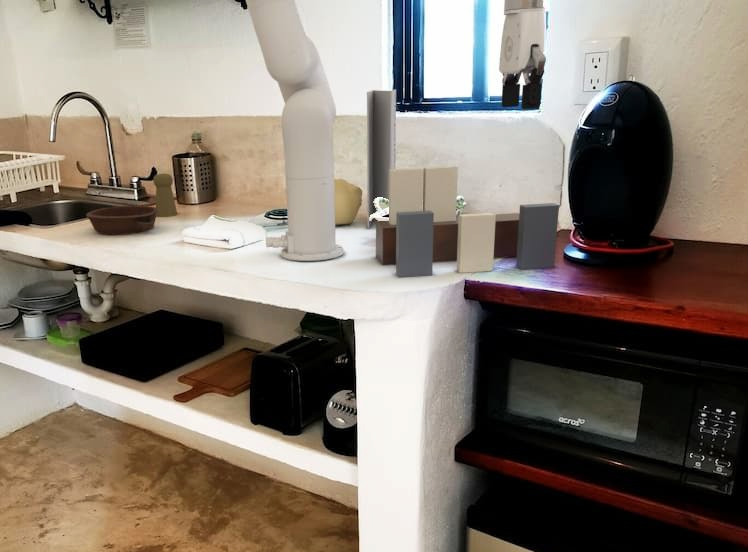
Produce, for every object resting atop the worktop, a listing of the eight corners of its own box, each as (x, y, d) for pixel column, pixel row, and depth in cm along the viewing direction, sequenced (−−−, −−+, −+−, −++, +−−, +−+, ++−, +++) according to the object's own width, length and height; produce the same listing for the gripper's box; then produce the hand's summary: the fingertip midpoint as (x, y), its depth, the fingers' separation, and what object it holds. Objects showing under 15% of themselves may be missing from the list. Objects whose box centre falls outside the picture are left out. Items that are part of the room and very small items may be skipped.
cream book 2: (424, 223, 145) (425, 168, 142) (422, 221, 147) (423, 167, 144) (456, 221, 146) (457, 166, 142) (453, 219, 147) (454, 165, 144)
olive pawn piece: (155, 213, 215) (151, 173, 211) (177, 212, 216) (173, 172, 212) (155, 217, 210) (150, 175, 206) (177, 215, 210) (173, 174, 206)
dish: (121, 241, 180) (118, 220, 178) (70, 232, 194) (67, 212, 193) (179, 229, 191) (177, 208, 189) (127, 221, 206) (125, 202, 204)
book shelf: (382, 265, 145) (382, 228, 143) (375, 257, 152) (375, 221, 149) (528, 255, 146) (530, 219, 144) (515, 248, 153) (517, 212, 150)
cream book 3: (459, 272, 137) (461, 216, 133) (456, 270, 139) (458, 214, 135) (492, 270, 137) (495, 214, 134) (489, 268, 139) (492, 212, 135)
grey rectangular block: (520, 269, 137) (525, 207, 133) (515, 266, 139) (519, 204, 136) (554, 267, 137) (559, 205, 133) (548, 264, 140) (553, 202, 136)
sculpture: (369, 222, 187) (368, 176, 183) (339, 230, 179) (338, 183, 175) (331, 218, 194) (330, 175, 190) (301, 226, 186) (299, 181, 182)
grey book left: (398, 277, 136) (399, 214, 132) (395, 273, 139) (396, 212, 135) (432, 275, 136) (433, 212, 132) (428, 271, 139) (430, 210, 135)
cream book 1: (390, 225, 145) (390, 170, 142) (388, 223, 147) (388, 169, 143) (422, 223, 145) (423, 168, 142) (419, 221, 147) (420, 167, 144)
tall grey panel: (391, 228, 178) (392, 91, 167) (367, 228, 179) (366, 92, 168) (395, 217, 191) (396, 89, 180) (372, 218, 192) (372, 90, 181)
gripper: (488, 9, 142) (483, 107, 149) (524, 0, 126) (517, 110, 132) (528, 7, 143) (521, 105, 149) (569, -2, 127) (560, 108, 133)
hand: (519, 107), depth 141 cm, fingers open, 9 cm apart
